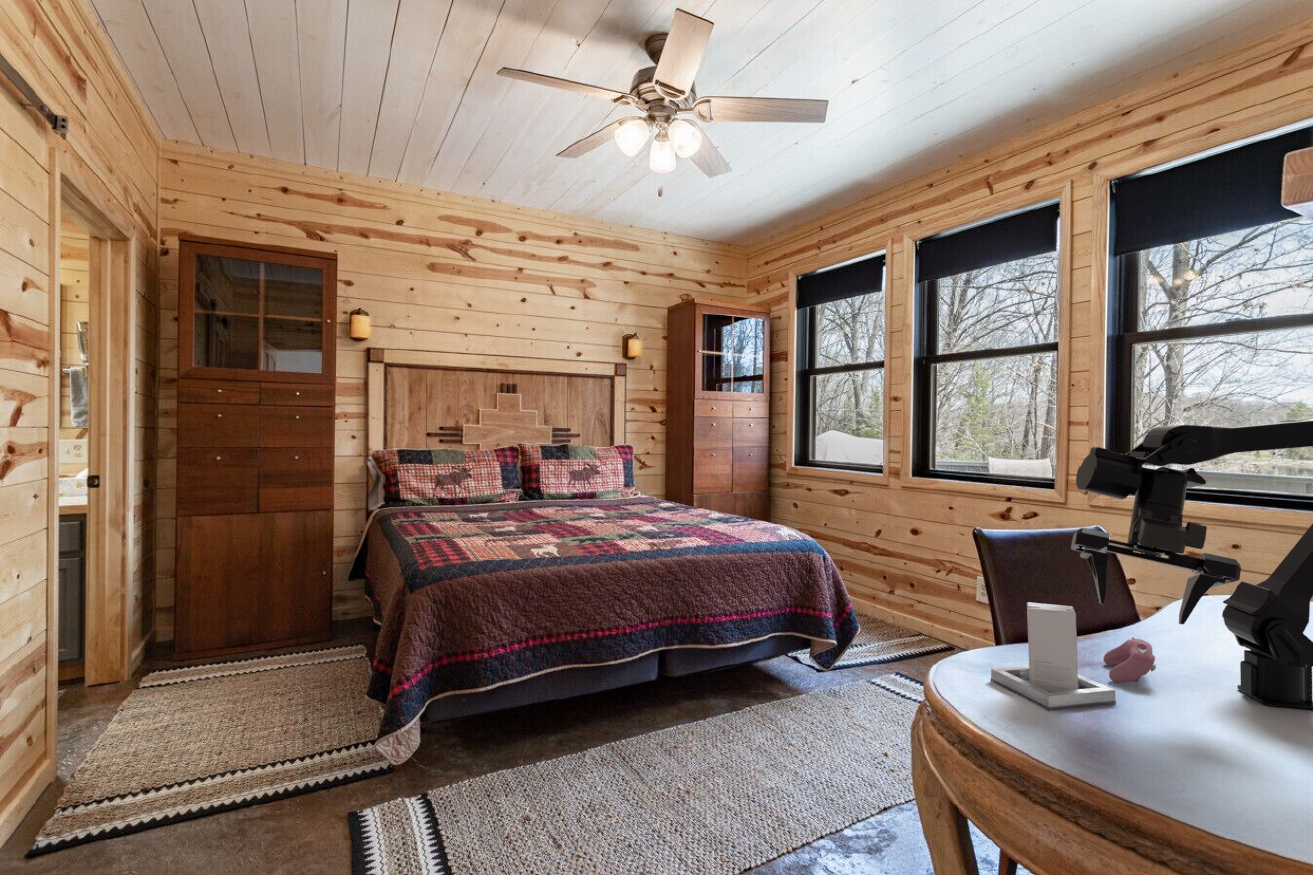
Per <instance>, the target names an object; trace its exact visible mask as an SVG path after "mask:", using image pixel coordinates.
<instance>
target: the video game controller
mask: <svg viewBox="0 0 1313 875" xmlns="http://www.w3.org/2000/svg"><path fill="white" fill-rule="evenodd" d="M1155 661H1156V656H1155V655H1154V654H1153V646H1152V644H1151V643H1149V642H1147V641H1146V640H1144V639H1141V638H1135V637H1134V636H1133V637H1131V639H1127V640H1126V641H1125V642H1123V643H1122V644H1120V645H1118V646H1117V647H1115V648H1112V649H1111V650H1109V651H1107V652H1106V653H1105V654H1104V656H1103V663H1104V664H1105V665H1107V666H1110V667H1113V668H1111V669H1110V671H1109V672H1108V676H1109V680H1111V681H1112V682H1114V683H1117V684H1121V683H1124V684H1125V683H1130V682H1132V681H1138V680H1139V679H1140V678H1141V677H1142V676H1145V675H1147V674H1148V673H1149V672H1154V671H1155V670H1156V668H1157V666H1156V665H1157V664H1155Z"/></svg>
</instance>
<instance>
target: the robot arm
mask: <svg viewBox="0 0 1313 875" xmlns="http://www.w3.org/2000/svg"><path fill="white" fill-rule="evenodd" d="M1308 447H1312V448H1313V418H1310V419H1307V420H1298V421H1288V422H1287V421H1285V422H1275V423H1265V424H1262V423H1261V424H1253V425H1242V426H1229V427H1222V426H1221V427H1220V426H1212V425H1210V426H1209V425H1208V426H1207V425H1196V424H1194V425H1192V424H1191V425H1190V424H1177V425H1160V426H1156V427H1153V428H1151V429H1150V430H1149V431H1148V432H1147V433H1146V435H1145V436H1144V438H1143V440H1142V442H1141V443H1140V444H1138V445H1137V446H1135V447H1133V448H1132V449H1131V450H1129V451H1128V452H1126V453H1125V454H1123V453H1119V452H1115V451H1112V450H1110V449H1108V448H1104V447H1101V446H1092V447H1090V451H1089V454H1087V456H1086V457H1085V458H1084V459H1083V461H1082V462H1081V465H1080V466H1078V469H1077V473H1076V475H1075V476H1076V478H1075V483H1076V487H1077V489H1078V490H1079V491H1083V492H1084V491H1085V492H1088V493H1093V494H1097V495H1100V496H1105V497H1108V498H1113V499H1117V500H1120V501H1121V500H1125V499H1126V498H1128V496H1129V495H1130V496H1134V495H1135V496H1134V502H1133V507H1132V513H1131V518H1130V525H1129V531H1128V535H1127V541H1126V542H1123V541H1119V540H1114V539H1110V532H1105V531H1100V530H1095V529H1090V528H1086V527H1081V528H1079V529H1077V530H1076V531H1075V532H1074V534H1073V536H1072V541H1071V546H1070V550H1073V551H1077V552H1080V553H1079V557H1080V558H1082V559H1086V560H1087V563H1088V565H1089V568H1090V571H1091V574H1092V576H1093V579H1094V583H1095V588H1096V593H1097V597H1098V602H1099V604H1100V605H1104V604H1105V601H1106V597H1107V579H1108V577H1107V576H1108V563H1109V556H1110V554H1109V553H1113V554H1116V555H1122V556H1125V557H1126V556H1127V557H1129V558H1135V559H1140V560H1144V561H1148V562H1153V563H1157V564H1162V565H1167V566H1171V567H1176V568H1180V569H1184V570H1188V571H1191V572H1192V573H1193V576H1190V577H1187V581H1186V585H1185V588H1184V594H1183V598H1182V602H1181V605H1180V609H1179V614H1178V624H1179V625H1182V626H1183V625H1185V623H1186V622H1187V621H1188V620H1189V619H1188V618H1189V617H1190V615H1191V614H1192V612H1193V611H1194V609H1195V608H1196V606H1197V605H1198V603H1199V601H1200V600H1201V599H1202V597H1203V596H1204V595H1205V594H1206V593H1207V592H1208V590H1210V589H1211V588H1217V587H1218V586H1223V585H1225V584H1226V585H1227V584H1230V583H1234V582H1237V581H1240V577H1241V571H1242V568H1241V567H1242V566H1241V564H1240V563H1239V561H1238V560H1237V559H1236V558H1231V557H1227V556H1226V557H1225V556H1221V555H1215V554H1212V553H1207V552H1204V553H1203V552H1202V553H1201V554H1199V555H1197V556H1195V557H1194V556H1189V555H1185V549H1186V547H1188V548H1192V549H1193V548H1194V549H1198V550H1203V548H1204V547H1205V543H1206V539H1207V538H1206V537H1207V529H1208V526H1207V524H1206V525H1205V524H1203V523H1197V522H1191V521H1188V522H1187V523H1186V525H1185V526H1183V517H1184V507H1185V501H1186V495H1187V488H1188V489H1190V488H1191V489H1192V488H1195V487H1201V486H1203V485H1206V484H1207V480H1206V479H1205V478H1204V477H1203V476H1202V475H1201V474H1199V473H1198V472H1197V471H1196V470H1195V468H1194V467H1190V468H1185V469H1182V470H1180V469H1179V470H1178V469H1174V468H1170V467H1166V466H1168V465H1179V466H1180V465H1182V466H1183V465H1184V466H1191V465H1195V464H1198V463H1204V462H1207V461H1212V460H1215V459H1218V458H1221V457H1224V456H1226V455H1231V454H1237V453H1238V454H1239V453H1247V452H1259V451H1261V452H1262V451H1270V450H1271V451H1272V450H1283V449H1294V448H1295V449H1296V448H1297V449H1299V448H1308ZM1143 466H1150V467H1151V466H1153V467H1158V468H1156V469H1153V468H1152V469H1151V468H1148V467H1143ZM1163 556H1164V557H1163ZM1312 599H1313V523H1312V524H1310V526H1309V528H1308V529H1307V530H1306V531H1305V533H1303V535H1302V536H1301V537H1300V538H1299V539H1298V541H1297V542H1296V544H1295V545H1294V546H1293V547H1292V548H1291V550H1290V551H1289V552H1288V553H1287V555H1285V557H1284V558H1283V559H1282V560H1281V562H1280V563H1279V565H1277V567H1276V568H1275V569H1274V570H1273V572H1272V573H1271V574H1270V576H1269V577H1268V578H1266V579H1265V580H1263V581H1261V582H1259V583H1257V584H1253V583H1250V582H1246V581H1243V580H1242V581H1240V582H1239V584H1237V586H1236V588H1235V589H1234V591H1233V593H1232V594H1231V595H1230V596H1229V597H1228V598H1227V599H1224V600H1223V601H1222V604H1225V607H1224V608H1223V610H1222V614H1221V616H1222V618H1223V622H1224V625H1225V627H1226V628H1227V630H1228V631H1229V632H1231V633H1232V634H1233V635H1234V637H1235V640H1236V642H1237V644H1238V645H1239V646H1240V647H1244V648H1246V649H1244V650H1243V660H1241V661H1240V663H1239V664H1240V668H1239V669H1240V670H1239V671H1240V684H1237V690H1239V691H1241V692H1243V693H1245V694H1246V695H1248V696H1249V697H1251V698H1253V699H1254V700H1256V701H1258V702H1259V703H1261V704H1262V705H1265V706H1272V707H1274V706H1275V707H1285V708H1296V709H1307V710H1313V641H1312V640H1311V639H1310V638H1309V637H1308V636H1307V635H1305V634H1304V633H1305V630H1306V628H1307V627H1308V625H1309V623H1310V615H1311V614H1310V612H1311V601H1312Z"/></svg>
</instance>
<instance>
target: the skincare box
mask: <svg viewBox="0 0 1313 875" xmlns="http://www.w3.org/2000/svg"><path fill="white" fill-rule="evenodd" d="M1026 610H1027V612H1026V615H1027V616H1026V617H1027V618H1026V619H1027V640H1028V641H1027V644H1028V647H1027V648H1028V665H1029V676H1030V684H1033V685H1035V686H1037V687H1039V688H1041V689H1043V690H1045V691H1047V692H1058V691H1068V690H1078V675H1079V673H1078V672H1079V671H1078V669H1079V668H1078V666H1079V665H1078V637H1077V636H1078V635H1077V613H1076V610H1075V609H1074V607H1073V606H1072V605H1071V606H1070V605H1060V604H1051V603H1050V604H1049V603H1039V602H1030V601H1029V602H1026Z"/></svg>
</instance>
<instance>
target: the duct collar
mask: <svg viewBox="0 0 1313 875" xmlns="http://www.w3.org/2000/svg"><path fill="white" fill-rule="evenodd" d="M990 669H991V670H990V676H991V677H990V682H992V681H993V682H992V683H994V684H996V685H998V686H999V687H1002V688H1004V689H1005V690H1007V691H1009V692H1011V693H1014V694H1016V695H1017V696H1020V697H1021V698H1024V699H1025V700H1027V701H1029V702H1031V703H1033V704H1035V705H1037V706H1039V707H1041V708H1042V709H1045V710H1047V711H1049V712H1050V711H1058V710H1068V709H1077V708H1086V707H1087V708H1088V707H1095V706H1097V707H1098V706H1106V705H1107V706H1108V705H1115V704H1116V705H1117V700H1116V689H1115V688H1112V687H1109V686H1107V685H1104V684H1103V683H1099V682H1097V681H1094V680H1092V679H1091V678H1088V677H1085V676H1083V675H1080V674H1078V690H1068V691H1058V692H1047V691H1045V690H1043V689H1041V688H1039V687H1037V686H1035V685H1033V684H1030V676H1029V664H1028V665H1017V666H1016V665H1015V666H1008V667H1007V666H1005V667H995V668H993V667H992V668H990Z"/></svg>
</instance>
